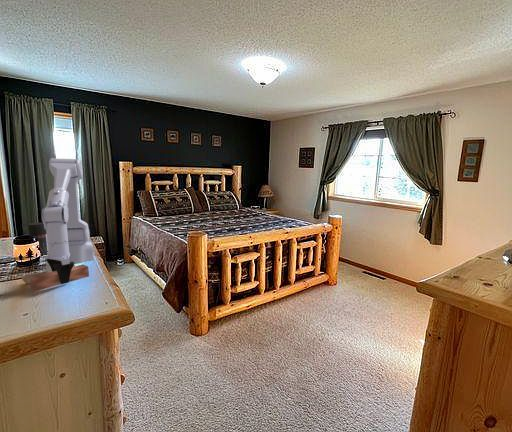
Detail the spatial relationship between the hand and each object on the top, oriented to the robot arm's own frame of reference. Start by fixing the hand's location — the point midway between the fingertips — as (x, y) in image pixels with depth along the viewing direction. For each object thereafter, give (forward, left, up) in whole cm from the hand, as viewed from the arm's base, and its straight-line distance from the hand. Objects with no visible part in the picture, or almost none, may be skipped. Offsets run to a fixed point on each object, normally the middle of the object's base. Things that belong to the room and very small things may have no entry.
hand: (61, 280), depth 95 cm
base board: (0, -11, -2) cm, 11 cm away
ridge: (0, -11, -1) cm, 11 cm away
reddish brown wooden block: (0, 0, -2) cm, 2 cm away
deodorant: (-3, -46, -2) cm, 47 cm away
